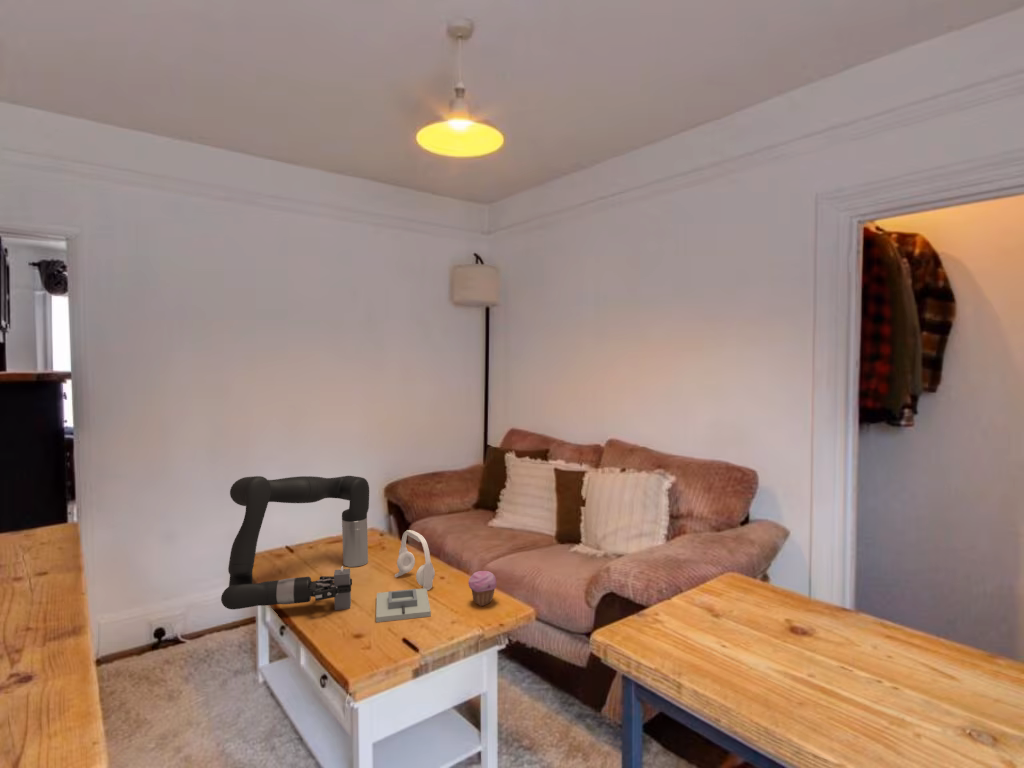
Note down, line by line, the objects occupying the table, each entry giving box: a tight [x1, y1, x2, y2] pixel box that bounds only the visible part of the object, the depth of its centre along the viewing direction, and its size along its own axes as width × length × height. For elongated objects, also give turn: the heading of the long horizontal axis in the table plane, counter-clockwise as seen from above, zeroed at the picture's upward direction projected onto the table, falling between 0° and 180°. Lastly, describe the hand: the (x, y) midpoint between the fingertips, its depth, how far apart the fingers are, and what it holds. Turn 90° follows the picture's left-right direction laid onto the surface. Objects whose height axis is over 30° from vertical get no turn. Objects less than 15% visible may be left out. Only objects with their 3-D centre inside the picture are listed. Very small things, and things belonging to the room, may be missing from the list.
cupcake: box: [468, 570, 497, 607], centre depth 180 cm, size 9×9×10 cm
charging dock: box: [375, 587, 432, 623], centre depth 178 cm, size 18×16×4 cm
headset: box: [394, 529, 436, 591], centre depth 197 cm, size 20×7×18 cm, turn 36°
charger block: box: [333, 565, 352, 611], centre depth 179 cm, size 5×5×12 cm
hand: (351, 585), depth 179 cm, fingers closed on charger block, 4 cm apart
